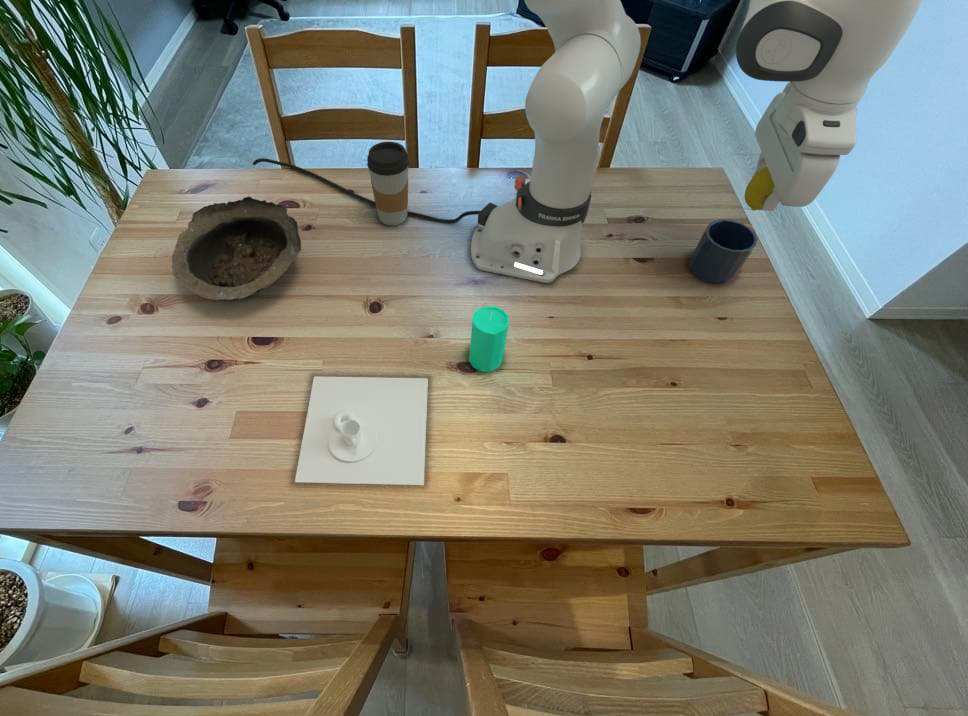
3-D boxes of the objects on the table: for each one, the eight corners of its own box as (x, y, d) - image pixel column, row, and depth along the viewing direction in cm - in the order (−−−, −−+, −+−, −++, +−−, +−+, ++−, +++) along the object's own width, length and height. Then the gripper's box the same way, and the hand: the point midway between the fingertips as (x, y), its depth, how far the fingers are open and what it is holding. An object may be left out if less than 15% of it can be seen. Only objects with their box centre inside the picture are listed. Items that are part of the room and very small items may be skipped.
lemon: (772, 222, 85) (801, 178, 78) (737, 218, 86) (763, 174, 79) (768, 201, 88) (795, 157, 81) (734, 197, 88) (758, 153, 82)
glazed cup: (692, 282, 100) (711, 250, 93) (685, 250, 105) (702, 218, 98) (740, 285, 99) (762, 253, 93) (730, 253, 104) (751, 220, 97)
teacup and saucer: (332, 414, 85) (328, 401, 82) (380, 415, 85) (377, 402, 82) (325, 462, 81) (320, 450, 77) (375, 463, 80) (372, 451, 77)
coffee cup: (378, 203, 115) (370, 138, 102) (414, 206, 114) (411, 141, 101) (370, 228, 110) (361, 163, 98) (408, 231, 110) (404, 166, 97)
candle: (464, 366, 90) (467, 321, 80) (474, 341, 93) (479, 294, 83) (497, 376, 89) (504, 331, 79) (506, 350, 92) (514, 303, 82)
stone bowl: (294, 219, 112) (285, 183, 104) (320, 305, 101) (311, 272, 92) (178, 243, 108) (158, 208, 99) (191, 336, 96) (170, 304, 88)
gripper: (773, 71, 78) (729, 156, 90) (810, 148, 67) (755, 234, 79) (817, 73, 78) (767, 158, 89) (860, 151, 67) (797, 236, 79)
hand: (761, 194), depth 84 cm, fingers closed on lemon, 5 cm apart
